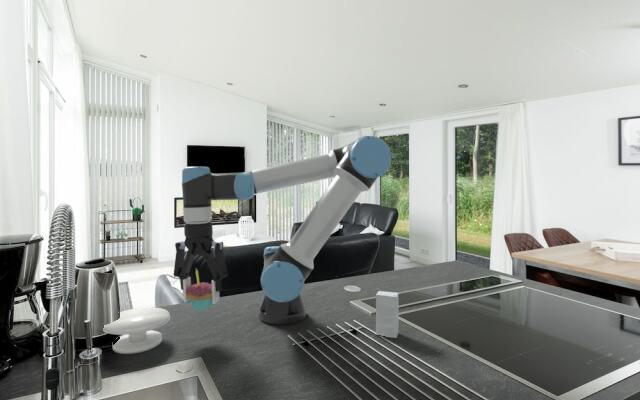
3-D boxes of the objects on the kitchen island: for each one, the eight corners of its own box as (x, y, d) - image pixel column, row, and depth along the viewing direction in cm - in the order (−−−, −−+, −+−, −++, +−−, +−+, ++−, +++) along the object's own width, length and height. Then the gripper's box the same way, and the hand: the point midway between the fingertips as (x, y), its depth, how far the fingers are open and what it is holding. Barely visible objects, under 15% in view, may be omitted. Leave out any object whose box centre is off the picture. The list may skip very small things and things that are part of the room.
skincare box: (398, 332, 108) (399, 292, 107) (396, 338, 104) (397, 296, 103) (377, 330, 110) (378, 290, 109) (375, 335, 106) (375, 294, 105)
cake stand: (182, 333, 107) (182, 309, 107) (143, 361, 91) (143, 332, 91) (133, 328, 111) (132, 305, 110) (87, 354, 95) (86, 326, 94)
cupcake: (208, 314, 100) (206, 270, 100) (179, 312, 102) (177, 269, 101) (222, 303, 109) (221, 263, 108) (196, 302, 110) (194, 262, 110)
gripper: (238, 220, 105) (241, 299, 107) (172, 220, 110) (176, 295, 111) (226, 223, 98) (229, 308, 99) (156, 223, 102) (160, 304, 104)
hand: (201, 301), depth 105 cm, fingers closed on cupcake, 8 cm apart
